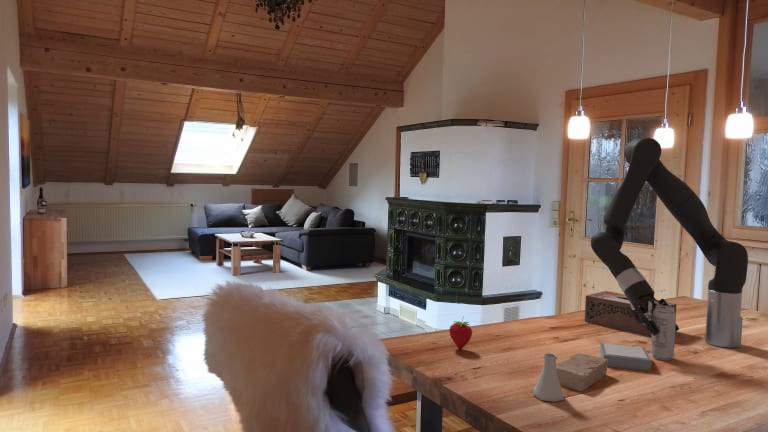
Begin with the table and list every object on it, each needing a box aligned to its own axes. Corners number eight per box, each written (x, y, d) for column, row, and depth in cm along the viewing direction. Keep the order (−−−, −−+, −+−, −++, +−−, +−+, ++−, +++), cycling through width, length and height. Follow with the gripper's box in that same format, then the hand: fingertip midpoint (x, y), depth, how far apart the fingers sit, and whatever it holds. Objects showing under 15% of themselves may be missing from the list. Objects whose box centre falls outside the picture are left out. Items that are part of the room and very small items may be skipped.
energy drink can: (678, 360, 155) (681, 309, 154) (660, 361, 153) (663, 310, 152) (663, 354, 161) (665, 304, 160) (645, 355, 159) (648, 305, 158)
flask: (528, 390, 130) (529, 350, 129) (557, 390, 131) (558, 350, 130) (539, 403, 123) (541, 360, 122) (569, 402, 123) (571, 360, 123)
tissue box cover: (584, 322, 197) (585, 295, 197) (604, 316, 206) (605, 290, 206) (656, 339, 177) (658, 309, 177) (675, 331, 186) (676, 303, 186)
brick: (583, 393, 130) (584, 374, 130) (550, 383, 136) (551, 365, 135) (608, 376, 142) (608, 358, 142) (577, 368, 148) (577, 351, 148)
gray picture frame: (644, 357, 157) (644, 347, 156) (650, 371, 145) (651, 359, 145) (600, 352, 160) (600, 342, 160) (603, 365, 149) (603, 354, 149)
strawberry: (457, 344, 166) (458, 312, 166) (476, 350, 160) (477, 317, 160) (444, 347, 162) (445, 315, 162) (463, 354, 157) (464, 320, 156)
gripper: (626, 280, 159) (659, 328, 150) (658, 277, 166) (691, 323, 156) (610, 294, 164) (641, 341, 155) (642, 291, 171) (673, 336, 161)
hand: (666, 332), depth 156 cm, fingers open, 8 cm apart
